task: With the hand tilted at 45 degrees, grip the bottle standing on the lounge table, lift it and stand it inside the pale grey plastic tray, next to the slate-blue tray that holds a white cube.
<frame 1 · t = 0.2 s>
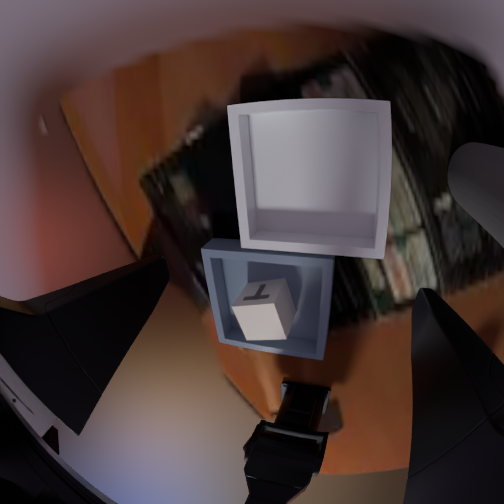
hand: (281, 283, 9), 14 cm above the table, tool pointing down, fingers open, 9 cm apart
blue tray: (273, 294, 27), on the table
bottle: (474, 176, 16), on the table
grey tray: (314, 173, 21), on the table
white cube: (272, 297, 27), resting on blue tray
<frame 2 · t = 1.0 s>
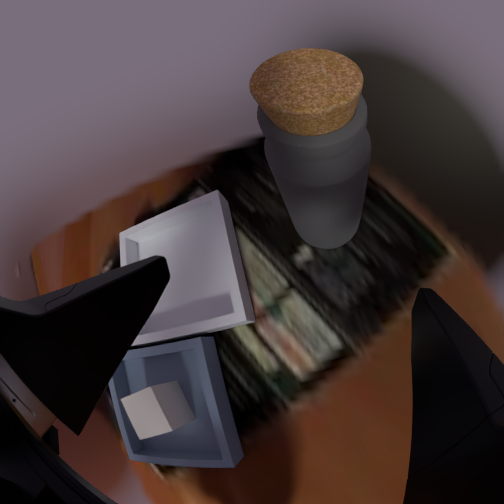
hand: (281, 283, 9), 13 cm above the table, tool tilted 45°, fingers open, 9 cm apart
blue tray: (173, 404, 22), on the table
bottle: (326, 218, 23), on the table
grey tray: (184, 275, 25), on the table
white cube: (170, 405, 21), resting on blue tray
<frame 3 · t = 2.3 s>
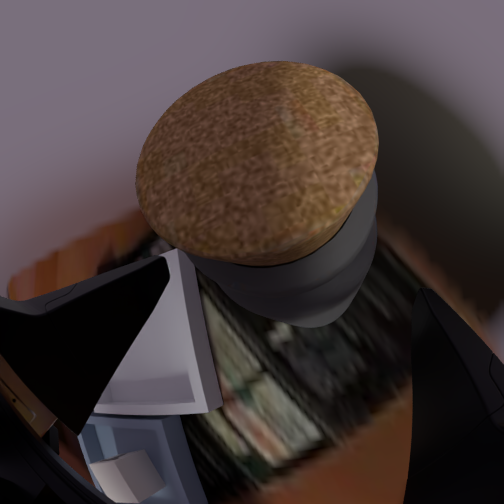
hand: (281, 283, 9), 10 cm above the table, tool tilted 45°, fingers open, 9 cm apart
blue tray: (143, 468, 17), on the table
bottle: (312, 285, 18), on the table
grey tray: (146, 342, 20), on the table
white cube: (140, 470, 16), resting on blue tray
when the fingers open (9 cm above the table, at t = 7.4 s): bottle stays where it is, resting on grey tray.
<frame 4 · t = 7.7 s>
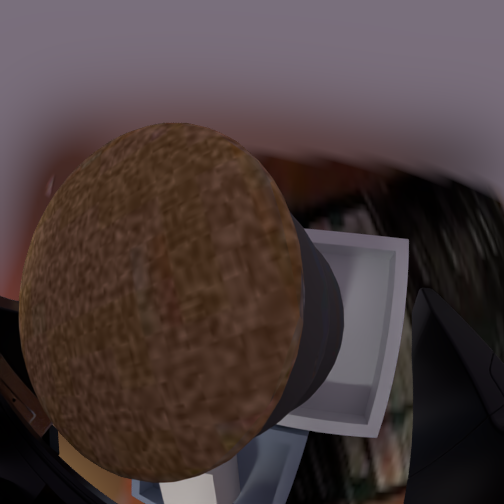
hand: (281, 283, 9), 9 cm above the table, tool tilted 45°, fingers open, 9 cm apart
blue tray: (215, 467, 15), on the table
bottle: (290, 328, 17), resting on grey tray
grey tray: (303, 329, 17), on the table
white cube: (212, 469, 15), resting on blue tray
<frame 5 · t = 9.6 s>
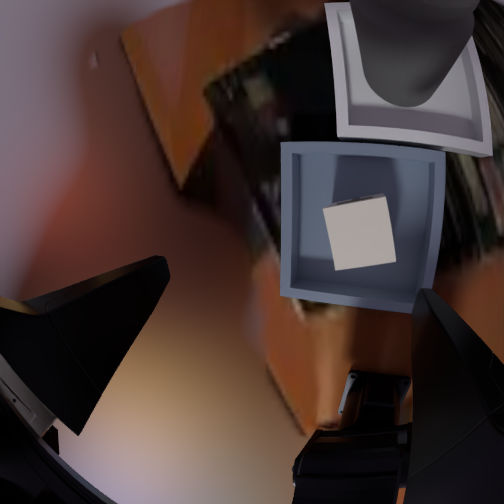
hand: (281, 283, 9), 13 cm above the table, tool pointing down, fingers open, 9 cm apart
blue tray: (362, 223, 19), on the table
bottle: (399, 74, 15), resting on grey tray
grey tray: (409, 76, 14), on the table
white cube: (362, 224, 19), resting on blue tray
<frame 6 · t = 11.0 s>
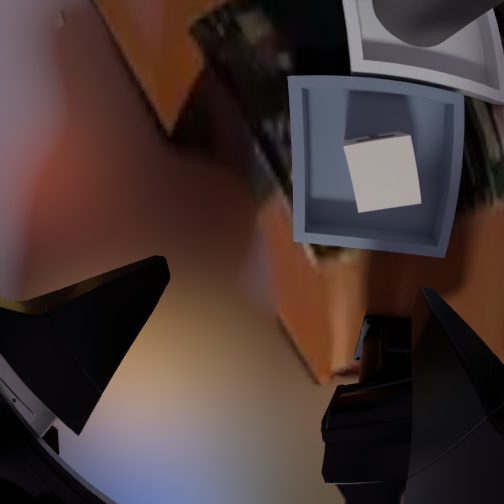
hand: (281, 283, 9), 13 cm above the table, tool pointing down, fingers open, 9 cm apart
blue tray: (377, 161, 17), on the table
bottle: (411, 14, 10), resting on grey tray
grey tray: (420, 17, 10), on the table
white cube: (377, 162, 17), resting on blue tray
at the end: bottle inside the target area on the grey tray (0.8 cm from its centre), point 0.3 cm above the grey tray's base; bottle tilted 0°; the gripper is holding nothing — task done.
